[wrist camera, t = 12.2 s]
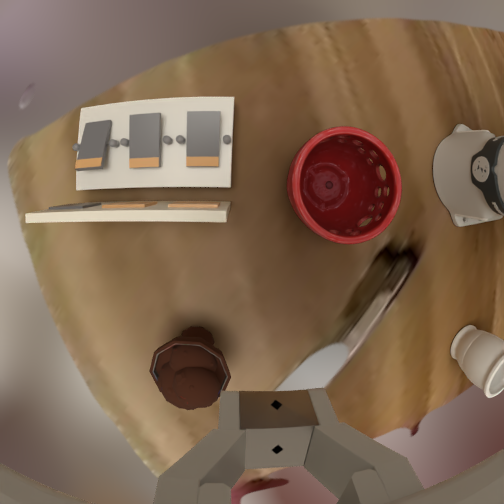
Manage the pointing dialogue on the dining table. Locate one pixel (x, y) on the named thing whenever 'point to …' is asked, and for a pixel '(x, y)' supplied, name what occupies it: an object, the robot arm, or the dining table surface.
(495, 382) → the jar
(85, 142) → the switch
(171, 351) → the ice cream bowl
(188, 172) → the switch unit
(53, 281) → the dining table surface
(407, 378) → the dining table surface
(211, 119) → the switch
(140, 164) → the switch middle
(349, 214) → the plant pot
